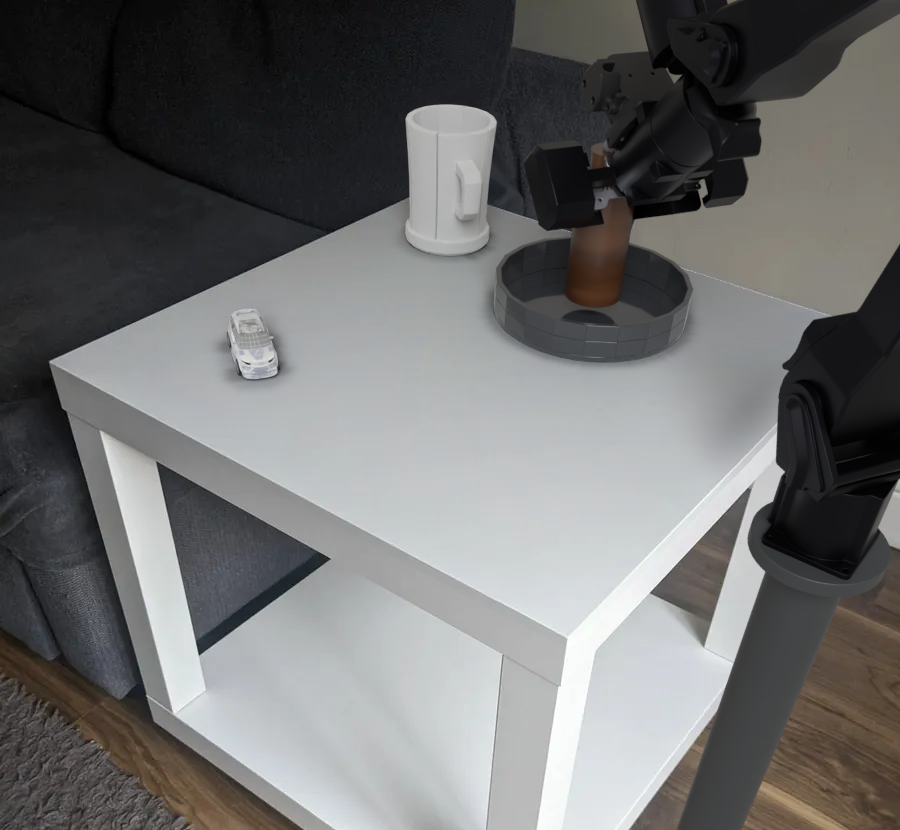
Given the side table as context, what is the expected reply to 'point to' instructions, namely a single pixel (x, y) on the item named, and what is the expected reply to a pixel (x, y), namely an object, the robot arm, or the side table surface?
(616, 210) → the pepper mill
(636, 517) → the side table surface
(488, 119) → the cup
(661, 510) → the side table surface
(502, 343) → the side table surface
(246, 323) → the toy car
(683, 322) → the pan
